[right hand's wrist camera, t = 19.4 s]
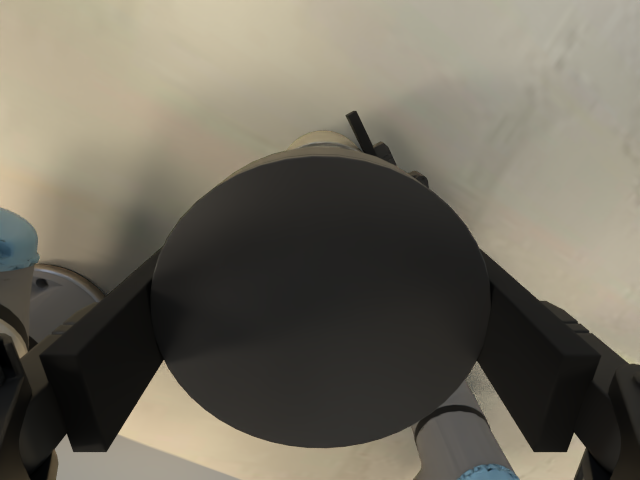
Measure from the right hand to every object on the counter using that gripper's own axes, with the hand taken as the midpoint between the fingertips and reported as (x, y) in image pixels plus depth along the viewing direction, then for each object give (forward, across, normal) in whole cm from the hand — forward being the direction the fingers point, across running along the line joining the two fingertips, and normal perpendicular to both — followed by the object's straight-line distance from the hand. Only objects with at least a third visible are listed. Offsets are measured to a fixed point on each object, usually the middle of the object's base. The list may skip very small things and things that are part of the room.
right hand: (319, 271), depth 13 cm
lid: (-3, 0, 0) cm, 3 cm away
